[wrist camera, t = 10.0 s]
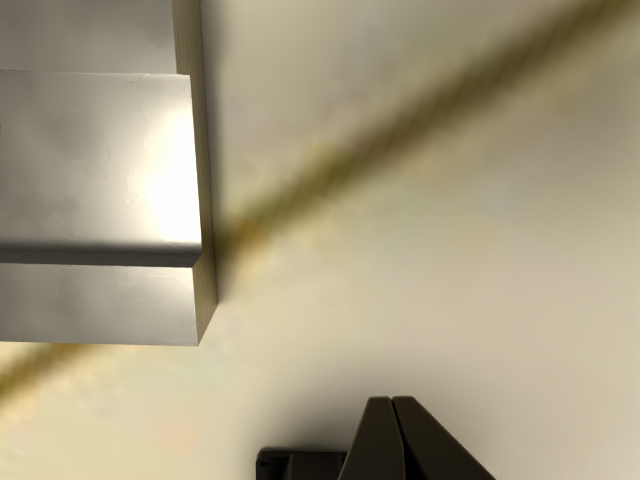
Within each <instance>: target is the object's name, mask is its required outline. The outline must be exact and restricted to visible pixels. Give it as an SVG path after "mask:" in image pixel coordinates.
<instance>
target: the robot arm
mask: <svg viewBox="0 0 640 480" xmlns="http://www.w3.org/2000/svg"><path fill="white" fill-rule="evenodd" d="M263 460H267V461H263ZM256 480H496V479H495V478H494V477H493V476H492V475H491V474H490V473H489V472H488V471H487V470H486V469H485V468H484V467H483V466H482V465H481V464H480V463H479V462H478V461H477V460H476V459H475V458H474V457H473V456H472V455H471V454H470V453H469V452H468V451H467V450H466V449H465V448H464V447H463V446H462V445H461V444H460V443H459V442H458V441H457V440H456V439H455V438H454V437H453V436H452V435H451V434H450V433H449V432H448V431H447V430H446V429H445V428H444V427H443V426H442V425H441V424H440V423H439V422H438V421H437V420H436V419H435V418H434V417H433V416H432V415H431V414H430V413H429V412H428V411H427V410H426V409H425V408H424V407H423V406H422V405H421V404H420V403H419V402H418V401H417V400H416V399H415V398H414V397H412V396H393V397H392V398H391V399H390V398H389V397H388V396H378V397H370V398H369V399H368V401H367V403H366V406H365V409H364V411H363V414H362V417H361V419H360V422H359V425H358V427H357V430H356V433H355V435H354V438H353V441H352V444H351V446H350V449H349V452H348V453H340V452H299V451H262V452H260V453H259V454H258V455H257V459H256Z"/></svg>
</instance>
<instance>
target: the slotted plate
mask: <svg viewBox="0 0 640 480" xmlns="http://www.w3.org/2000/svg"><path fill="white" fill-rule="evenodd" d="M216 308H217V291H216V274H215V257H214V240H213V222H212V205H211V188H210V171H209V154H208V137H207V119H206V102H205V85H204V68H203V51H202V34H201V16H200V0H0V341H8V342H48V343H88V344H128V345H168V346H198V345H199V343H200V341H201V339H202V337H203V335H204V333H205V331H206V329H207V327H208V325H209V322H210V320H211V318H212V316H213V314H214V312H215V310H216Z"/></svg>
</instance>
